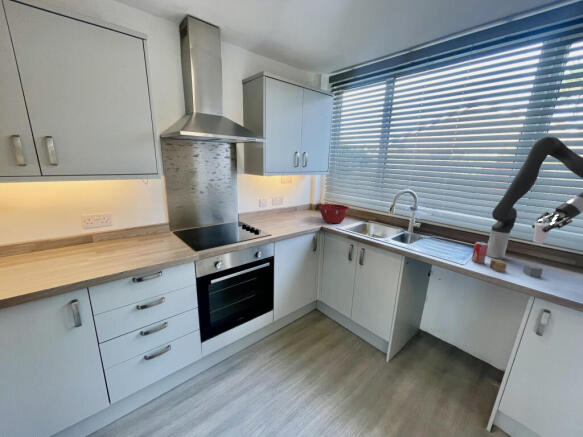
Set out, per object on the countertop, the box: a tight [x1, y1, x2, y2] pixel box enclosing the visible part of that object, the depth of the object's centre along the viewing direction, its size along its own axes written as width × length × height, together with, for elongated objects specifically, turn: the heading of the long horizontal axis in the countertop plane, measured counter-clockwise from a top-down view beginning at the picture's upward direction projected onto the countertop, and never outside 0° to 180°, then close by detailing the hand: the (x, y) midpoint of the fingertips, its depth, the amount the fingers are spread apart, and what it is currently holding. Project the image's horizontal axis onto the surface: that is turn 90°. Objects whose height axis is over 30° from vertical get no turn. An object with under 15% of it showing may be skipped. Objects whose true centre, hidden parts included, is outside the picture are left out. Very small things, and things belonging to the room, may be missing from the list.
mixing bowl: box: [318, 203, 350, 224], centre depth 233 cm, size 28×28×15 cm
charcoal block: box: [522, 263, 544, 278], centre depth 131 cm, size 5×5×5 cm
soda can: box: [471, 241, 488, 264], centre depth 147 cm, size 6×6×12 cm
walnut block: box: [489, 258, 508, 273], centre depth 137 cm, size 5×5×5 cm
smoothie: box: [532, 216, 551, 245], centre depth 123 cm, size 6×6×14 cm
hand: (538, 229), depth 123 cm, fingers closed on smoothie, 6 cm apart
